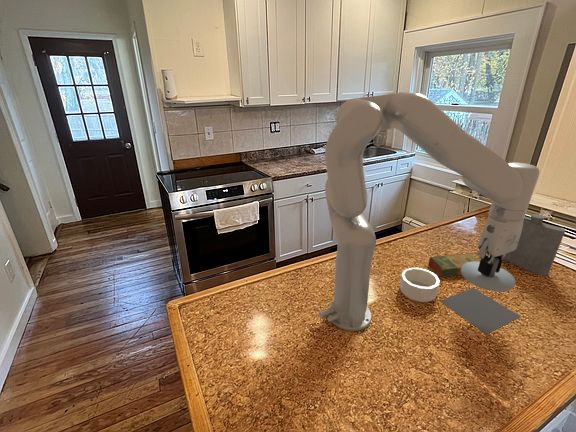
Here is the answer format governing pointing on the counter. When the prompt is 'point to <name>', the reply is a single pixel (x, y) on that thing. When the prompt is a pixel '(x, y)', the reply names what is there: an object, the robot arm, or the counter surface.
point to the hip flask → (536, 245)
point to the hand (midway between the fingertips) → (488, 271)
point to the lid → (488, 277)
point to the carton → (450, 263)
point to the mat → (480, 310)
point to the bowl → (419, 284)
